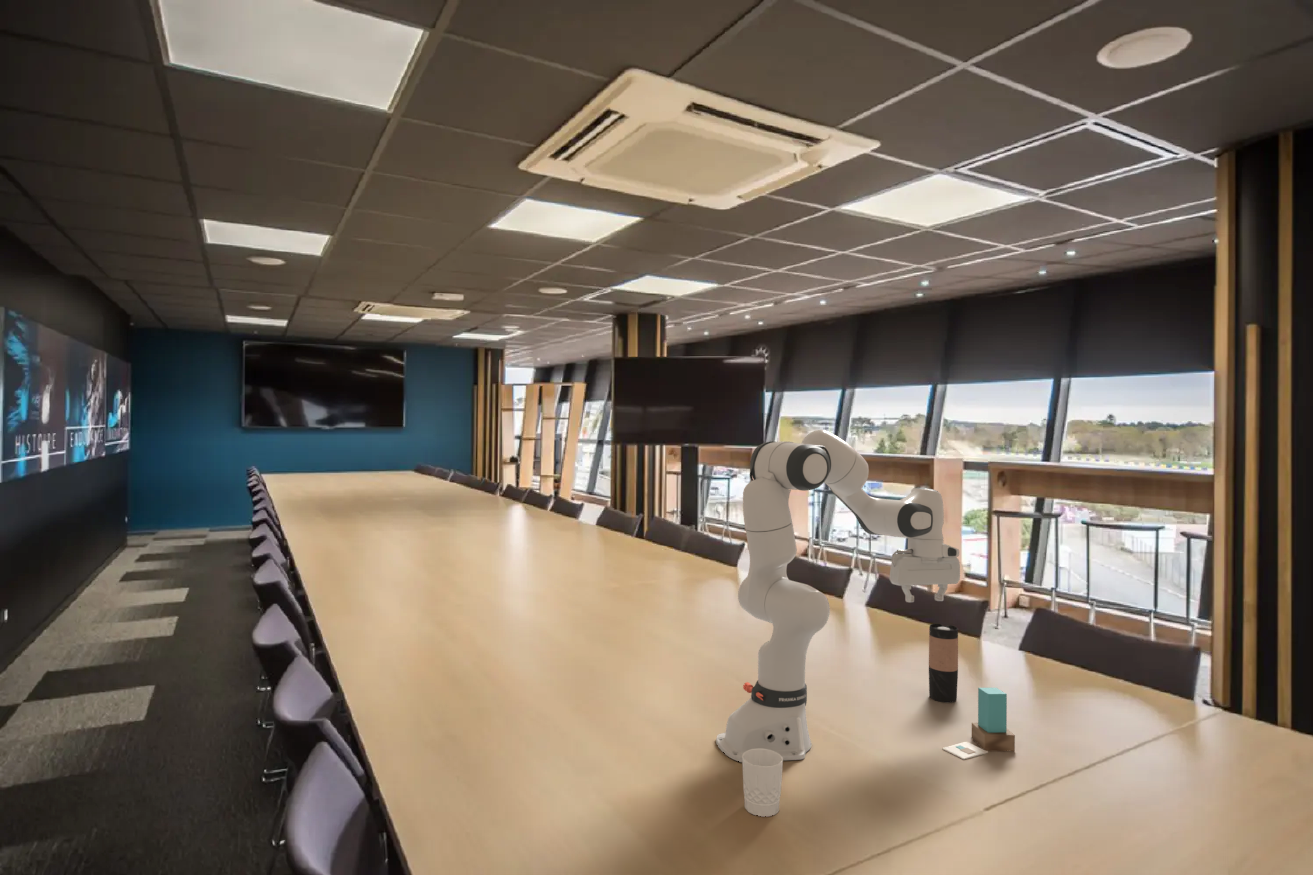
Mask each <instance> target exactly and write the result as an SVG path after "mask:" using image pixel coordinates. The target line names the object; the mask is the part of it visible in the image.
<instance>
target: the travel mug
mask: <svg viewBox="0 0 1313 875" xmlns="http://www.w3.org/2000/svg"><path fill="white" fill-rule="evenodd" d="M928 628H929V630H928V631H929V632H928V634H929V636H928V690H929V692H928V693H929V698H930V699H931V700H934V701H936V702H941V703H945V704H946V703H954V702H956V701H957V699H958V698H957V697H958V696H957V695H958V681H959V628H958V627H957V626H956V625H952V624H949V625H943V624H941V623H938V622H937V623H931V624H929V627H928Z"/></svg>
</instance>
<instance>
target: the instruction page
mask: <svg viewBox="0 0 1313 875" xmlns="http://www.w3.org/2000/svg"><path fill="white" fill-rule="evenodd" d="M942 750H944V751H946V752H947V753H950V754H952V755H953V756H955V757H958V758H960V759H962V761H964V760H968V759H971V758H975V757H979V756H982V755H985V754H988V753H989V751H985V750H983V749H982V748H981V747H980V746H976V745H974V744H972V743H970V742H969V741H963V742H960V743H959V742H958V743H956V744H952V745H949V746H944V747H942Z"/></svg>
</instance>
